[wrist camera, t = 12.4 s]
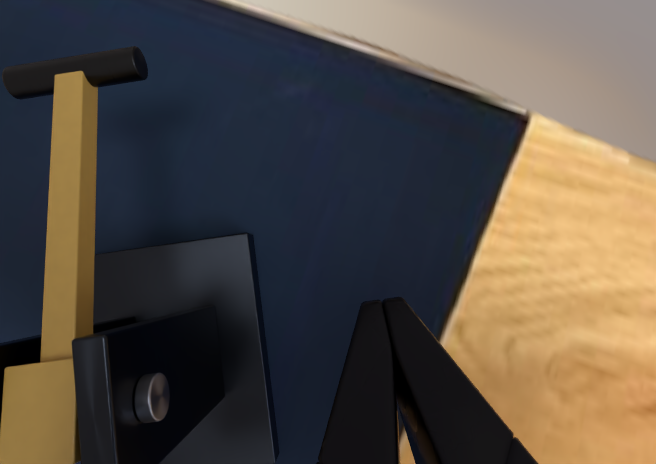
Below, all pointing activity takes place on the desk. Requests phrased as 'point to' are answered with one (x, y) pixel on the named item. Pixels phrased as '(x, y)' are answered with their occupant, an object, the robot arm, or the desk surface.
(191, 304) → the latch bracket
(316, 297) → the desk surface
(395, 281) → the desk surface
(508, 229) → the desk surface
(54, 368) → the latch lever
